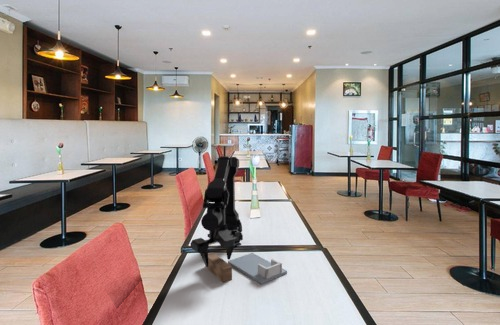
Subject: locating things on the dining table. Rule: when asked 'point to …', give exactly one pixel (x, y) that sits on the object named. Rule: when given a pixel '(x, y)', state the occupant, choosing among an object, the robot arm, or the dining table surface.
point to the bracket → (258, 267)
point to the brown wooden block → (219, 267)
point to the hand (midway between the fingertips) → (218, 262)
